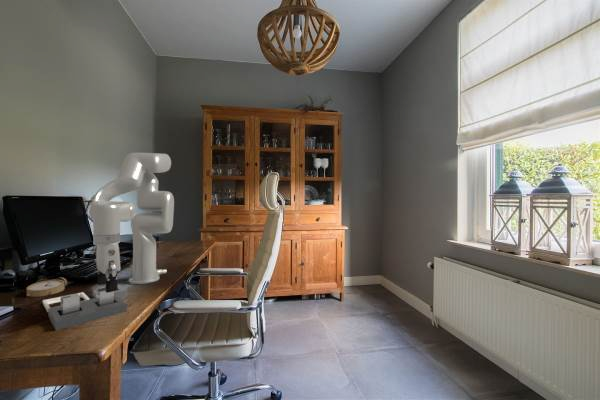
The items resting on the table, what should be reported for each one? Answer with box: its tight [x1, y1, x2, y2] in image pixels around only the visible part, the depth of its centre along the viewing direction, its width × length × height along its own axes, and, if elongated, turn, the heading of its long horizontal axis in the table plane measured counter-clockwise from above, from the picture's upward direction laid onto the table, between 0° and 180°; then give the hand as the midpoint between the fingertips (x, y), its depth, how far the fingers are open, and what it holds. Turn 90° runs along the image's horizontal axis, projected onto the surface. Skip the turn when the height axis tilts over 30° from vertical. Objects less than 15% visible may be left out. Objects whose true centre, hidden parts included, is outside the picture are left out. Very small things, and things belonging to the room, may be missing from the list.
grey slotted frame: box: [48, 294, 128, 331], centre depth 89 cm, size 18×14×3 cm
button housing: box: [93, 284, 129, 299], centre depth 105 cm, size 9×9×3 cm
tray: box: [42, 291, 90, 313], centre depth 98 cm, size 12×12×2 cm
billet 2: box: [96, 286, 114, 307], centre depth 93 cm, size 4×4×7 cm
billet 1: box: [60, 293, 81, 316], centre depth 86 cm, size 4×4×7 cm
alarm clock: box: [26, 277, 68, 298], centre depth 111 cm, size 11×5×15 cm
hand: (107, 287), depth 94 cm, fingers open, 9 cm apart
